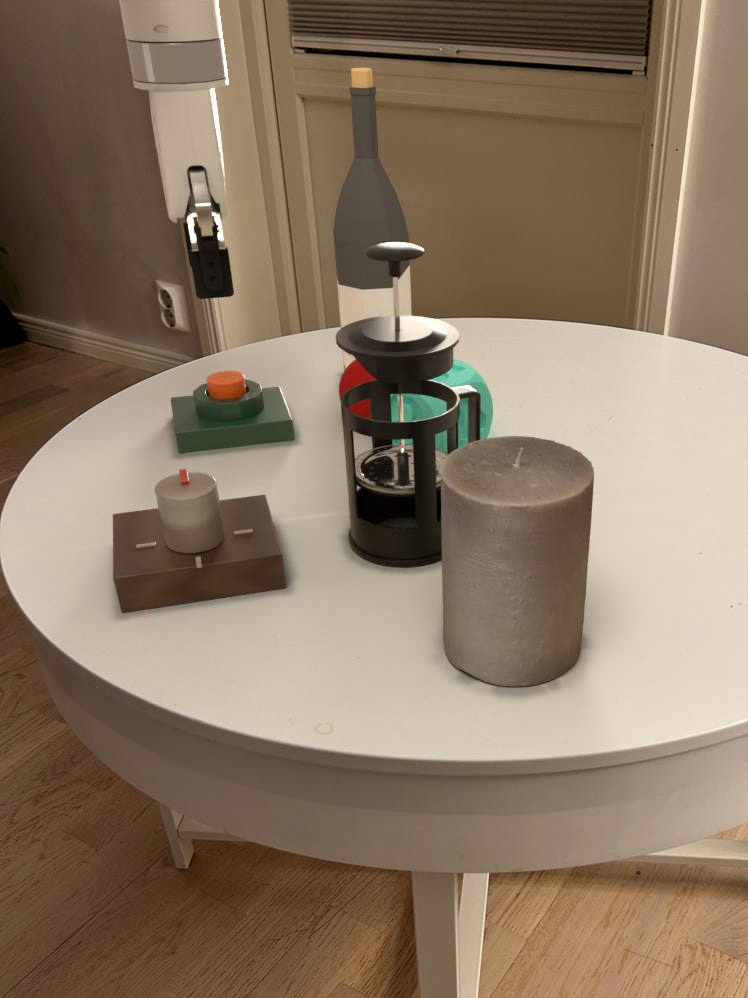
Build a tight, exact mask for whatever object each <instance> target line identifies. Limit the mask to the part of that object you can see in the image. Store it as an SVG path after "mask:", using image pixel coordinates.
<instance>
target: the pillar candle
mask: <svg viewBox="0 0 748 998" xmlns="http://www.w3.org/2000/svg"><path fill="white" fill-rule="evenodd" d="M439 466H440V468H439V474H440V476H441V525H442V560H441V578H442V579H441V581H442V582H441V584H442V586H441V589H442V592H441V593H442V594H441V597H442V631H443V632H442V642H443V648H444V649H443V650H444V653H445V655H446V657H447V660H448V661H449V662H450V664H451V665H452V666H453V667H456V668H457V669H458V670H461V671H462V672H464V673H466V674H468V675H470V676H473V677H474V678H477V679H479V680H481V681H483V682H485V683H488V684H491V685H496V686H502V687H529V686H537V685H539V684H543V683H546V682H549V681H551V680H553V679H556V678H558V677H561V676H562V675H563V674H565V673H566V672H567V671H568V670H570V669H571V667H572V666H573V665H574V664H575V663H576V662H577V660H578V659H579V657H580V655H581V651H582V639H583V629H584V621H585V609H586V607H585V605H586V598H587V583H588V582H587V581H588V568H589V555H590V542H591V531H592V528H591V527H592V519H593V515H592V514H593V500H594V483H595V471H594V466H593V464H592V461H590V460H589V459H588V458H587V457H586V456H585V455H584V454H583V453H582V452H581V451H579V450H577V449H575V448H573V447H572V446H569V445H566V444H563V443H560V442H557V441H555V440H551V439H547V438H546V439H545V438H541V437H534V436H524V435H503V436H496V437H489V438H488V437H487V439H483V440H478V441H474V442H471V443H469V444H466V445H464V446H462V447H460V448H458V449H456V450H454V451H453V452H451V453H450V454H449V455H448V456H447V457H446V458H445V459H444V460H443V461H441V462H440V464H439Z"/></svg>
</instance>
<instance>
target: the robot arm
mask: <svg viewBox="0 0 748 998" xmlns="http://www.w3.org/2000/svg"><path fill="white" fill-rule="evenodd" d="M118 3H119V9H120V14H121V20H122V25H123V32H124V36H125V39H126V40H125V42H126V43H125V44H126V49H127V54H128V60H129V65H130V71H131V76H132V82H133V87H134V88H135V89H139V90H142V91H148V100H149V109H150V117H151V118H150V119H151V124H152V125H151V126H152V131H153V137H154V143H155V148H156V154H157V159H158V161H157V162H158V167H159V172H160V177H161V184H162V189H163V195H164V200H165V205H166V210H167V211H166V212H167V215H168V219H169V220H170V221H171V222H172V223H174V224H178V219H183V218H184V221H185V222H183V223H182V226H183V231H184V237H185V243H186V250H187V256H188V261H189V262H188V263H189V266H190V267H191V271H192V277H193V284H194V290H195V295H196V298H197V299H199V300H208V299H209V300H210V299H220V298H230V297H233V296H234V294H235V290H234V282H233V276H232V269H231V261H230V260H231V259H230V254H229V248H228V247H227V246H226V243H225V236H224V231H223V226H222V221H223V220H224V219H225V218H226V217H227V216H228V205H227V203H228V202H227V188H226V187H227V186H226V175H225V163H224V154H223V144H222V136H221V128H220V121H219V113H218V104H217V99H216V91H215V89H219V88H225V87H227V86H229V77H228V69H227V61H226V54H225V47H224V46H225V45H224V39H223V30H222V21H221V15H220V7H219V0H118Z"/></svg>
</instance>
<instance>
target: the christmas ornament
mask: <svg viewBox="0 0 748 998" xmlns="http://www.w3.org/2000/svg"><path fill="white" fill-rule="evenodd" d="M372 380H376V379H375V378H374V377H373V376H372V375H370V374H369V373H368V372H367V371H366V370H365V369H364V368H363V367H362V365H361V364H360V363H359V362H358V361H357V360H356V359H355V360H354V361H353V362H351V363H350V364H349V365H348V367H347V368H346V369H345V370H344V371H343V372H342V374H341V377H340V380H339V384H338V396H339V400H340V402H341V398H342V395H343V394H344V393H345V392H346V391H347V390H349V389H350V388H352V387H354V386H356V385H358V384H361V383H364V382H368V381H372ZM348 410H349V411H350V412H352V413H354V414H356V415H358V416H361V417H364V418H367V419H371V416H370V400H369V398H368V399H365V400H362V401H360V402H358V403H356V404H354V405H353V406H351V407H350V408H349V409H348Z"/></svg>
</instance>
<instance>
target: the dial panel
mask: <svg viewBox="0 0 748 998" xmlns="http://www.w3.org/2000/svg"><path fill="white" fill-rule="evenodd" d="M219 502H220V508H221V514H222V520H223V526H224V532H225V538H224V540H223V541H222V543H221V544H219V545H218V546H216V547H215V548H213V549H210V550H207V551H204V552H199V553H180V552H176V551H173V550H171V549H170V548H168V547H167V545H166V543H165V538H164V533H163V528H162V524H161V519H160V514H159V509H158V507H156V508H148V509H142V510H133V511H127V512H119V513H117V512H116V513H112V568H113V569H112V577H113V583H114V587H115V591H116V596H117V600H118V603H119V608H120V612H121V613H129V612H134V611H135V612H136V611H142V610H143V611H144V610H149V609H155V608H162V607H168V606H174V605H175V606H176V605H183V604H188V603H189V604H190V603H195V602H201V601H208V600H215V599H223V598H229V597H234V596H242V595H247V594H255V593H261V592H268V591H275V590H282V589H286V588H287V582H286V575H285V566H284V558H283V553H282V548H281V545H280V541H279V538H278V535H277V531H276V527H275V524H274V523H275V522H274V520H273V516H272V512H271V508H270V505H269V502H268V498H267V495H266V494H258V495H251V496H243V497H236V498H234V497H233V498H227V499H219Z"/></svg>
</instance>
